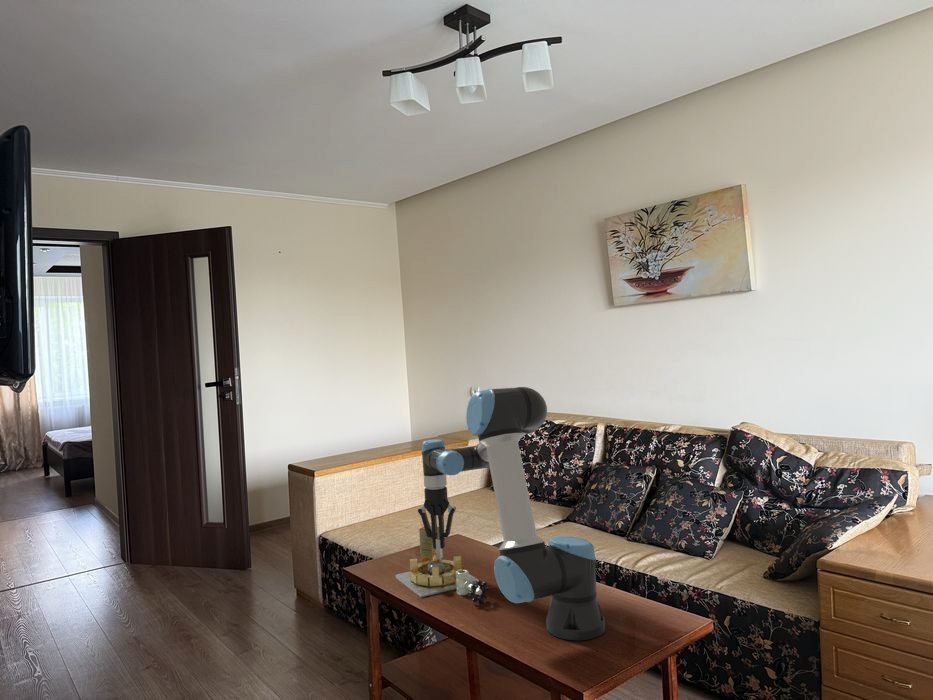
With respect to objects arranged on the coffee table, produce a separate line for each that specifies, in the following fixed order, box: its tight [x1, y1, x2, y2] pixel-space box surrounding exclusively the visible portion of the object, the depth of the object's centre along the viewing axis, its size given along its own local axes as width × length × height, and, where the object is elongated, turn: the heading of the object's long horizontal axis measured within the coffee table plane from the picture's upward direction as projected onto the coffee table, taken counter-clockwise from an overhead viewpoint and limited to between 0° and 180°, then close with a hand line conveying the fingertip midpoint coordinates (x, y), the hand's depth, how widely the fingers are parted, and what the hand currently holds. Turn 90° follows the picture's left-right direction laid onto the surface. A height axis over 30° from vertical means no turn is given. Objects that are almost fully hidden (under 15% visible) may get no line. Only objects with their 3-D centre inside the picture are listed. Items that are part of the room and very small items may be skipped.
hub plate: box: [395, 562, 479, 598], centre depth 206 cm, size 20×20×5 cm
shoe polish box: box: [418, 525, 441, 563], centre depth 223 cm, size 5×5×12 cm
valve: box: [456, 569, 490, 604], centre depth 191 cm, size 7×7×12 cm
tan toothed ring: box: [409, 550, 463, 586], centre depth 206 cm, size 16×16×6 cm
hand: (439, 558), depth 212 cm, fingers closed
